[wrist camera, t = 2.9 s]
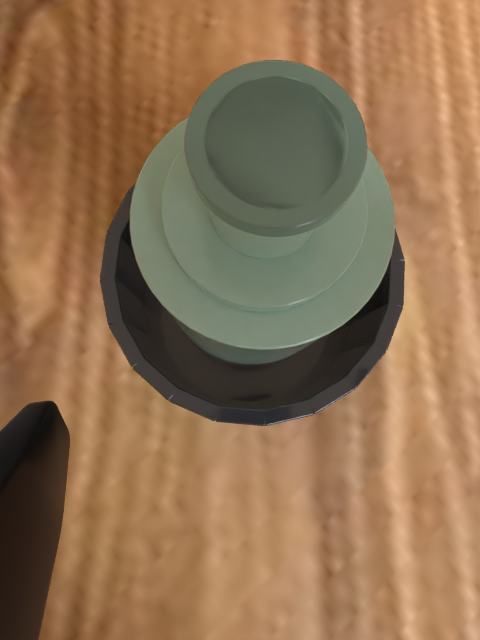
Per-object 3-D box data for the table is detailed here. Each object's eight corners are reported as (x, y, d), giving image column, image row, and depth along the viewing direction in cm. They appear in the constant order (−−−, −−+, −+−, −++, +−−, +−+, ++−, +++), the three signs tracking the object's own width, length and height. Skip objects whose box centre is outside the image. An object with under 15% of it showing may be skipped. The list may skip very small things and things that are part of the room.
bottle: (334, 351, 18) (516, 282, 7) (194, 383, 18) (122, 371, 6) (299, 218, 19) (405, -52, 8) (165, 247, 19) (55, 11, 7)
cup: (386, 386, 19) (442, 384, 14) (159, 439, 18) (132, 457, 13) (328, 175, 20) (359, 105, 15) (116, 219, 20) (77, 161, 15)
